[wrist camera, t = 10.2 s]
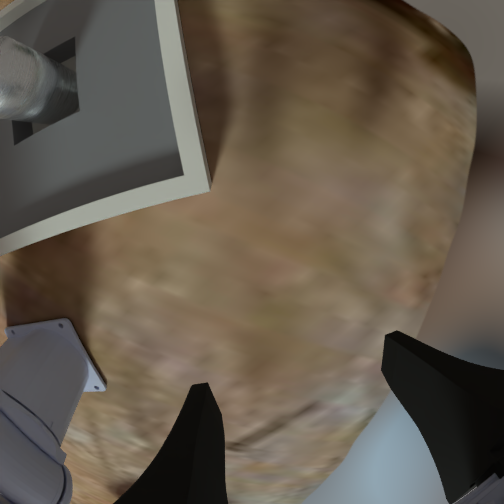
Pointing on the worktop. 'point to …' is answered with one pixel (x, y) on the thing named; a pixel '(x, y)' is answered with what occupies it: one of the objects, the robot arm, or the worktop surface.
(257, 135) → the worktop surface
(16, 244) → the bore tray
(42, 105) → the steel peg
